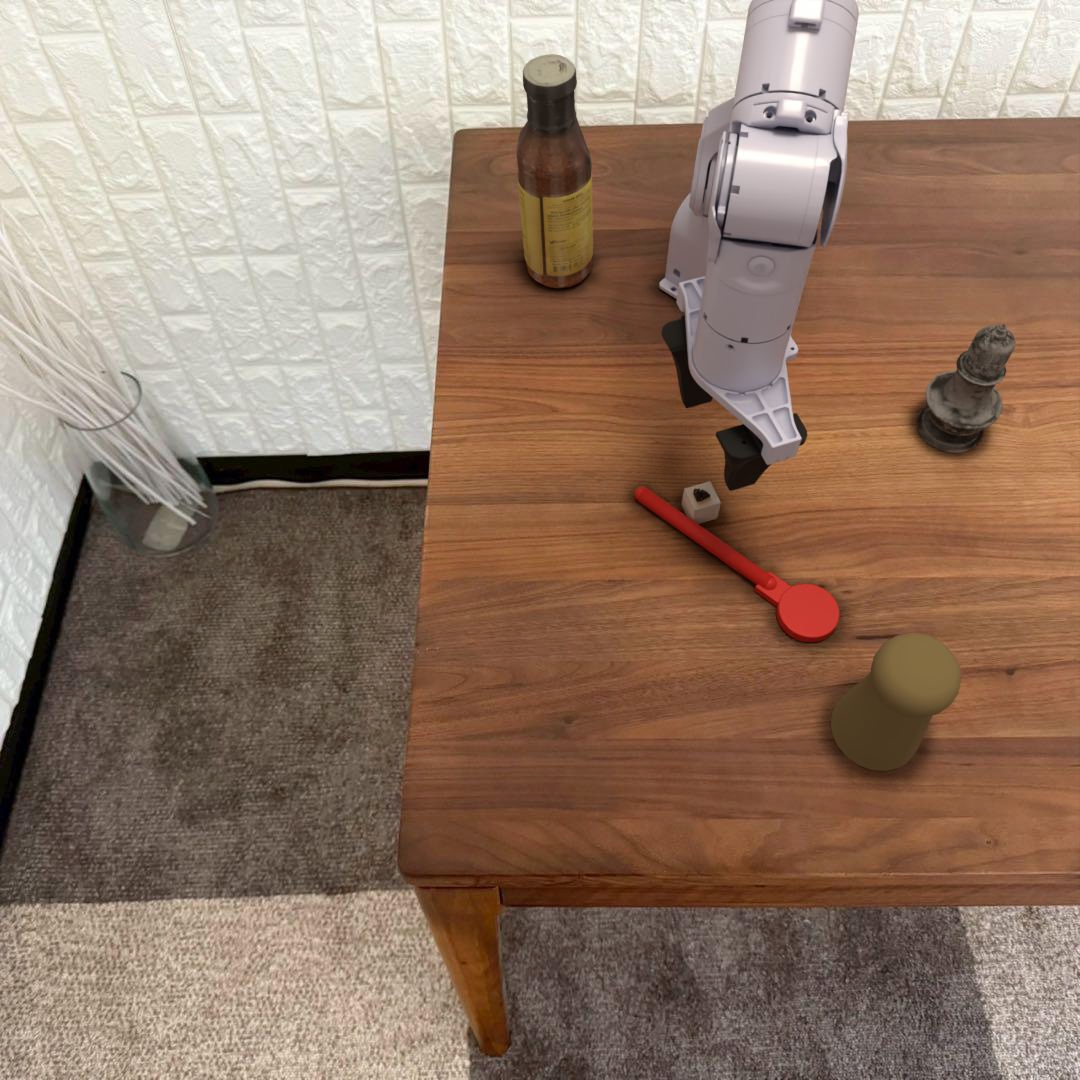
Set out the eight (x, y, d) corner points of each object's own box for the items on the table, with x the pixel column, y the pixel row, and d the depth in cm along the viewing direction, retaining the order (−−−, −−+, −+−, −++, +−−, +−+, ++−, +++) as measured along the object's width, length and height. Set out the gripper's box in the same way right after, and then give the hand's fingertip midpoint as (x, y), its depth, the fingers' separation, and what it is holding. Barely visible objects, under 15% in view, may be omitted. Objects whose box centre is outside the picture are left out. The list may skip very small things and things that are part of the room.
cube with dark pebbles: (691, 526, 78) (695, 508, 76) (681, 504, 79) (684, 486, 77) (717, 518, 79) (721, 500, 76) (706, 496, 80) (710, 478, 78)
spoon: (618, 512, 79) (618, 503, 78) (653, 477, 81) (654, 468, 80) (814, 654, 73) (818, 647, 72) (848, 613, 74) (852, 605, 73)
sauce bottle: (603, 255, 93) (612, 56, 76) (575, 300, 91) (579, 105, 74) (538, 235, 95) (533, 35, 78) (509, 279, 92) (498, 82, 75)
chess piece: (986, 461, 81) (1048, 361, 71) (911, 449, 82) (961, 348, 71) (986, 404, 84) (1045, 300, 74) (913, 393, 85) (962, 289, 74)
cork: (821, 691, 71) (861, 621, 62) (906, 684, 71) (959, 613, 62) (842, 775, 68) (887, 715, 59) (930, 767, 68) (990, 706, 59)
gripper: (865, 378, 58) (814, 506, 70) (757, 213, 65) (727, 354, 77) (753, 411, 57) (720, 535, 69) (655, 239, 64) (640, 378, 76)
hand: (718, 441), depth 73 cm, fingers open, 7 cm apart
